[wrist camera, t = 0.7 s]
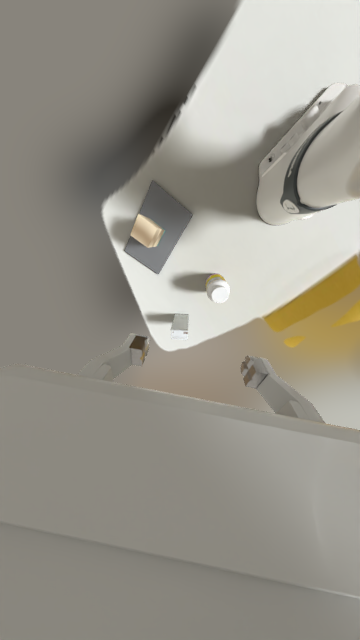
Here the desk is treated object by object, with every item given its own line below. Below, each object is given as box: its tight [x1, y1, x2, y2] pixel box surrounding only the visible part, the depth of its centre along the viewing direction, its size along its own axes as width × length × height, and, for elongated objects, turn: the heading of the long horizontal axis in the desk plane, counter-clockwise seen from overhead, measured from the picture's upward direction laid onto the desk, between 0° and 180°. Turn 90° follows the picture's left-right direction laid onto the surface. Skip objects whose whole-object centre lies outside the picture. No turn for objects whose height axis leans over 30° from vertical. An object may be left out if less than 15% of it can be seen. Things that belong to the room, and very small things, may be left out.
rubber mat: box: [125, 180, 192, 274], centre depth 42 cm, size 20×13×1 cm, turn 146°
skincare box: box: [171, 314, 189, 340], centre depth 52 cm, size 6×4×12 cm
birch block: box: [130, 214, 165, 248], centre depth 37 cm, size 5×5×10 cm
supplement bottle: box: [205, 274, 230, 303], centre depth 42 cm, size 7×7×13 cm
